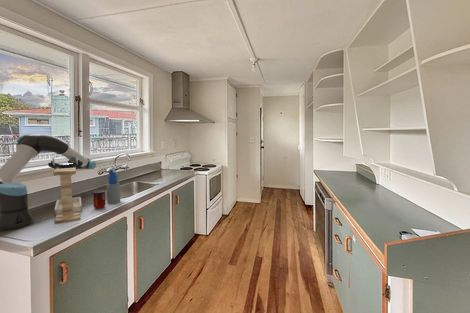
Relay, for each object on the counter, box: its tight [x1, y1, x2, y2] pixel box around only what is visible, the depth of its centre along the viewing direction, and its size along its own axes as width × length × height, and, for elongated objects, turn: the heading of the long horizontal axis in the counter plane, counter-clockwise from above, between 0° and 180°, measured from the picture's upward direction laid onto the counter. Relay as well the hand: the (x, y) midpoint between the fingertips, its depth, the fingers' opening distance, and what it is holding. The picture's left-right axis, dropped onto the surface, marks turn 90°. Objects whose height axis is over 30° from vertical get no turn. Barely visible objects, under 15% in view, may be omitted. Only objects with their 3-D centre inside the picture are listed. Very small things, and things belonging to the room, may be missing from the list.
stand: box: [53, 168, 82, 225], centre depth 135 cm, size 14×12×30 cm
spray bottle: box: [105, 168, 121, 205], centre depth 169 cm, size 9×9×25 cm
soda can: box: [92, 189, 107, 210], centre depth 156 cm, size 7×7×12 cm
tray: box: [53, 196, 83, 217], centre depth 155 cm, size 26×14×4 cm, turn 35°
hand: (65, 159), depth 161 cm, fingers open, 13 cm apart
